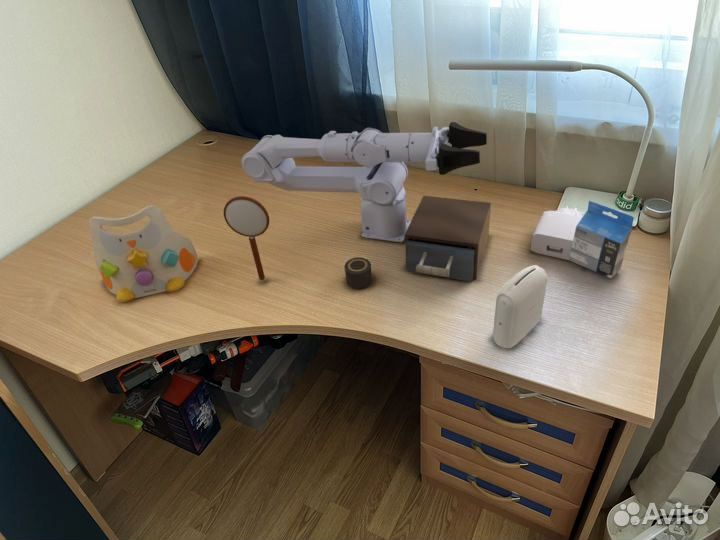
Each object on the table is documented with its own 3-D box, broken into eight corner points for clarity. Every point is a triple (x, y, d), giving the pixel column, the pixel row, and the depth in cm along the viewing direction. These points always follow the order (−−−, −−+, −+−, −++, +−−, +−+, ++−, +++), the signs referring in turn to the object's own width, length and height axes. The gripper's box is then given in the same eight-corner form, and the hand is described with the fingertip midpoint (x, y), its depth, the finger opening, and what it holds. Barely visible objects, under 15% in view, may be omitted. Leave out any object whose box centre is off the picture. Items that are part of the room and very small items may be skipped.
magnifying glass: (284, 280, 109) (265, 194, 96) (282, 285, 108) (262, 199, 95) (244, 278, 110) (220, 194, 98) (241, 283, 109) (217, 199, 97)
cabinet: (476, 280, 104) (478, 244, 99) (405, 269, 108) (404, 234, 103) (488, 237, 115) (491, 202, 109) (423, 229, 119) (423, 195, 113)
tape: (342, 287, 106) (340, 271, 103) (351, 271, 109) (349, 255, 107) (367, 291, 104) (365, 275, 102) (375, 274, 108) (374, 258, 105)
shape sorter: (99, 310, 106) (61, 237, 95) (104, 278, 114) (69, 207, 103) (200, 287, 109) (174, 213, 98) (198, 257, 117) (174, 186, 106)
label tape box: (567, 260, 106) (577, 209, 98) (578, 250, 108) (589, 199, 100) (610, 280, 101) (625, 226, 93) (621, 269, 102) (636, 216, 95)
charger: (592, 221, 115) (577, 262, 106) (548, 213, 119) (530, 251, 109) (596, 202, 112) (581, 242, 103) (551, 194, 116) (532, 232, 106)
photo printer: (509, 353, 89) (517, 297, 81) (488, 340, 92) (493, 285, 84) (544, 320, 94) (554, 265, 86) (522, 309, 97) (530, 255, 89)
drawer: (466, 300, 99) (467, 271, 94) (398, 289, 102) (397, 261, 98) (483, 241, 112) (485, 213, 108) (423, 233, 116) (422, 206, 112)
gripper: (399, 145, 97) (475, 145, 92) (420, 113, 108) (489, 111, 103) (404, 180, 101) (476, 181, 97) (423, 145, 112) (489, 145, 107)
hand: (483, 147), depth 100 cm, fingers open, 7 cm apart
